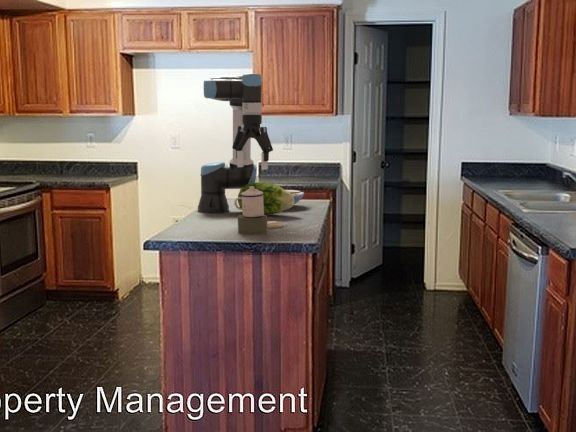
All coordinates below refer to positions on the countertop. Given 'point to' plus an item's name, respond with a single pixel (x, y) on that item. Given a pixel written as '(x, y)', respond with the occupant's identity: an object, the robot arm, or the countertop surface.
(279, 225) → the beech coaster
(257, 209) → the teacup with lid
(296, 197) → the ramen bowl
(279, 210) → the lettuce
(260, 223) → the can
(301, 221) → the countertop surface
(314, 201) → the countertop surface
